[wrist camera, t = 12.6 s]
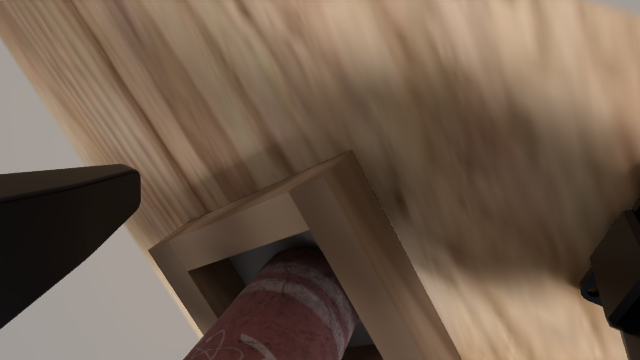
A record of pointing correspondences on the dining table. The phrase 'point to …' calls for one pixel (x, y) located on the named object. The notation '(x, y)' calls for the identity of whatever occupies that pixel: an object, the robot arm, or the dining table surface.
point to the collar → (320, 234)
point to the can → (284, 314)
